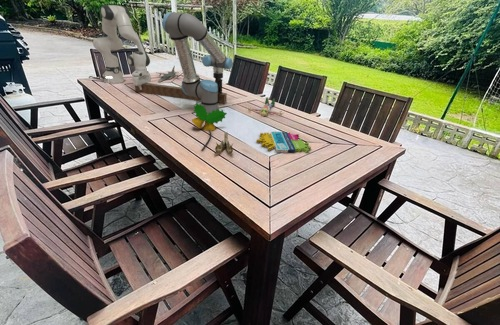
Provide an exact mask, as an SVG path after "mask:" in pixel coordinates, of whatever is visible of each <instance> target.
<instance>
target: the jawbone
mask: <svg viewBox="0 0 500 325" xmlns="http://www.w3.org/2000/svg"><path fill="white" fill-rule="evenodd" d="M223 135H224V136H223V140H222V139H221V142H220V144H218V142H215V144H216V146H215V148H214V149H215V152H214V154H215V155H217V156H218V155H220V153H221V152H223V151H224V150H226V152H227V153H228V155H229V156H233V155H234V154H233V153H234V148H233V144H234V143H230V140H228V139H229V138H228V137H229V136H228V135H229V133H228V131H226V132H224V134H223Z"/></svg>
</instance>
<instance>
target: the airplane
mask: <svg viewBox="0 0 500 325" xmlns="http://www.w3.org/2000/svg"><path fill="white" fill-rule="evenodd" d="M157 74H159V75H158V77H160V78H159V79H158V81H157V83H161V82H164V81H165V80H172V79H173V78H175V79H177V78H179V77H184V75H183V74H178V71H177V72H175V65H173V67H172V69H171V71H167V73H164V72H157Z"/></svg>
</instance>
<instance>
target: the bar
mask: <svg viewBox="0 0 500 325" xmlns="http://www.w3.org/2000/svg"><path fill="white" fill-rule="evenodd" d="M141 87H142V89H143V90H140V88H139V86H135V85H134V89H135V92H136V93H141V94H147V95H148V94H149V95H154V96H155V95H156V96H163V97H169V98H175V99H176V98H177V99H182V100H183V99H184V100H189V101H198V102H201V98H197V97H192V96H188V95H186V94H185V93H184V92H183V91H182V87H181V86H174V85H167V84H166V85H165V84H160V83H159V84H158V83H151V82H148V83H144V84H142V85H141ZM227 94H228V93H227V92H222V93H220V92H218V105H226V104H227Z"/></svg>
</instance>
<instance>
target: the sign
mask: <svg viewBox="0 0 500 325" xmlns="http://www.w3.org/2000/svg"><path fill="white" fill-rule="evenodd" d="M299 136H300V135H299V134H298V133H296V134H294V133H291V132H287V131H270V132H264V133H263V132H260V133H259V139H258V138H257V139H256V143H257V144H261V148H263V147H264V148H265V149H267V151H268V152H271V151H272V150H273V149H275V152H276V153H283V154H285V153H287V154H288V153H290V154H293V153H296V152H298V153H301V152H305V153H310V151H311V150H312V149H311V148H312V146H309V142H304V141H303V139H302V138H299Z"/></svg>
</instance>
